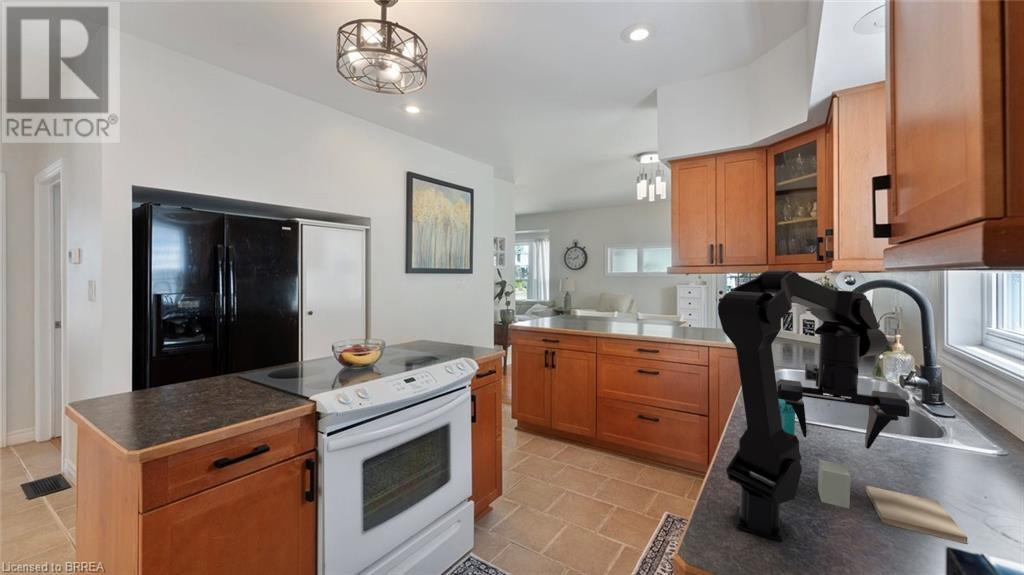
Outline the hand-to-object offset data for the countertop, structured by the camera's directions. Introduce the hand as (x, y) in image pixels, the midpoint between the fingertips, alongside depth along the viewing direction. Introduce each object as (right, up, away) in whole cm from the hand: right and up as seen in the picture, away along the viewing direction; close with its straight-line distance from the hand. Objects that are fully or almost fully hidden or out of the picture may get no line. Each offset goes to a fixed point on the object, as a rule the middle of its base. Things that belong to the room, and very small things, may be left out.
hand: (834, 442), depth 76 cm
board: (+10, -11, -4) cm, 15 cm away
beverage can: (+1, -10, +17) cm, 20 cm away
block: (0, -11, 0) cm, 11 cm away
